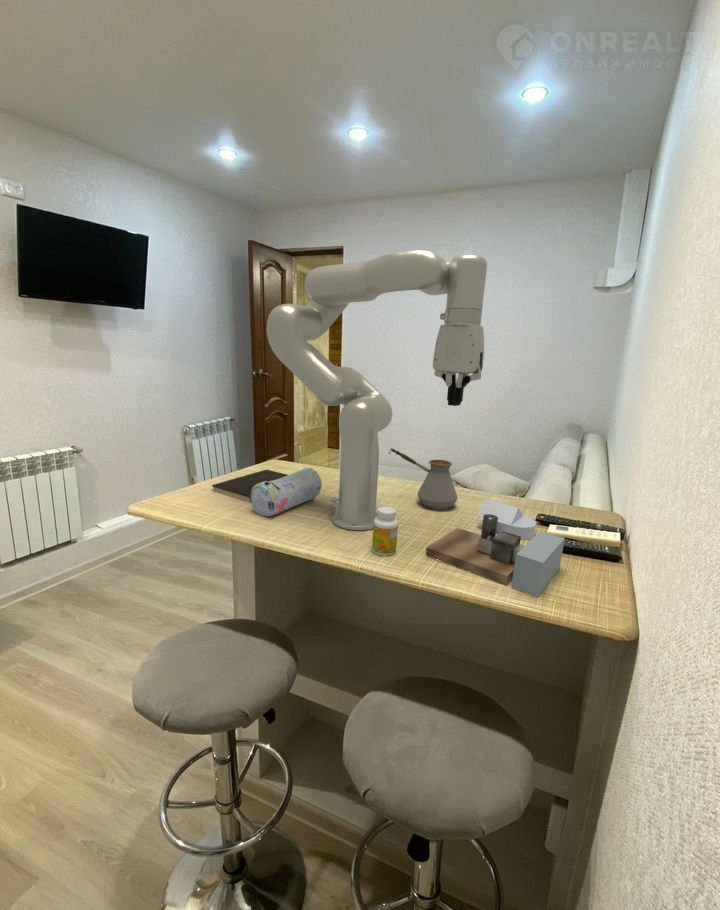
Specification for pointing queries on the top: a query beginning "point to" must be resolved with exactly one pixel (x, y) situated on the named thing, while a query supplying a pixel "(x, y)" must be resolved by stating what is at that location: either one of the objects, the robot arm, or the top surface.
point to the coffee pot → (435, 484)
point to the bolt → (492, 536)
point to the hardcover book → (246, 484)
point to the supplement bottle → (385, 532)
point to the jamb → (537, 563)
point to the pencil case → (285, 492)
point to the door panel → (477, 554)
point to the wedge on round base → (509, 519)
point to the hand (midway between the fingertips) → (454, 404)
